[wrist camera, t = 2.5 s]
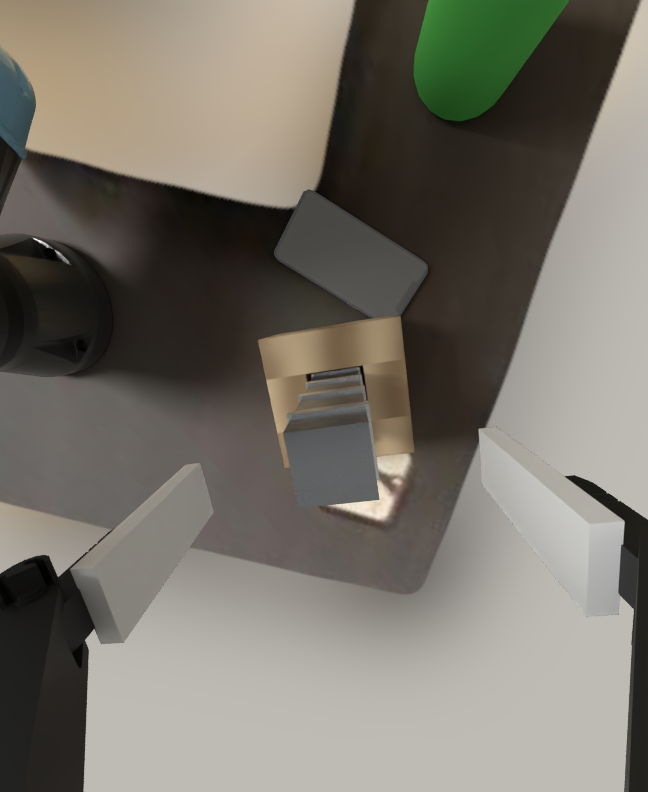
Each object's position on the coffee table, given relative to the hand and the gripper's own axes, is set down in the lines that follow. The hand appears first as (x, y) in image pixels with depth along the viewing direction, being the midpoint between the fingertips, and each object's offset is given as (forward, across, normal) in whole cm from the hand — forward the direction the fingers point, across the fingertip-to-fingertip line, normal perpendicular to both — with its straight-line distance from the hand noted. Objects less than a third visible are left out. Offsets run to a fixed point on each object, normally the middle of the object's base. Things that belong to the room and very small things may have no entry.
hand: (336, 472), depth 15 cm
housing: (+22, 0, 0) cm, 22 cm away
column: (+22, 0, 0) cm, 22 cm away
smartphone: (+23, +3, +12) cm, 26 cm away
